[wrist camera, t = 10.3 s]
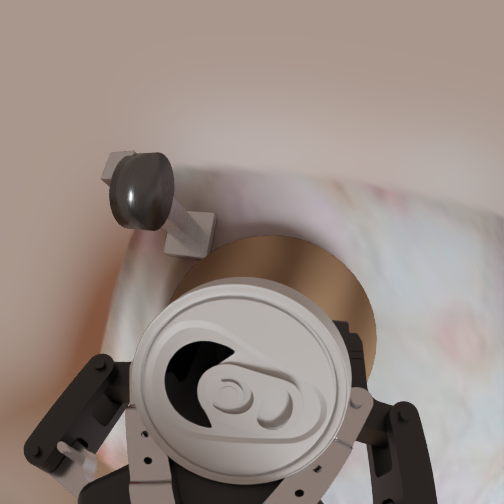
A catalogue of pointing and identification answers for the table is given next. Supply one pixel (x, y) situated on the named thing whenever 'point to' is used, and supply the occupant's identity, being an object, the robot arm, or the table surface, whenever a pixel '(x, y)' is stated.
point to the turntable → (294, 279)
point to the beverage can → (243, 381)
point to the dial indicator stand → (156, 203)
